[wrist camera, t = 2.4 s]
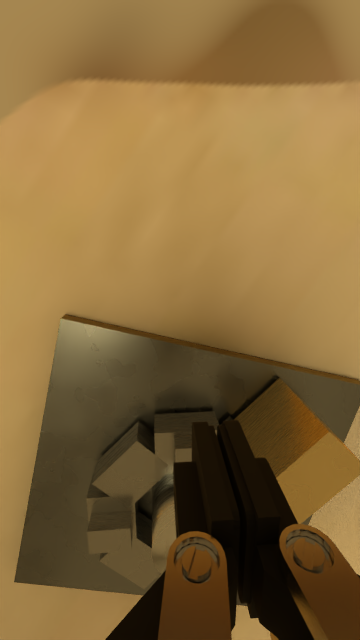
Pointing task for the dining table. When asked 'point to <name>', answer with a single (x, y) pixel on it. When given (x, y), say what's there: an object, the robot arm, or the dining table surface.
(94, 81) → the dining table surface
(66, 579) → the grey flat square piece
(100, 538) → the cream block ring
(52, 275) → the dining table surface
